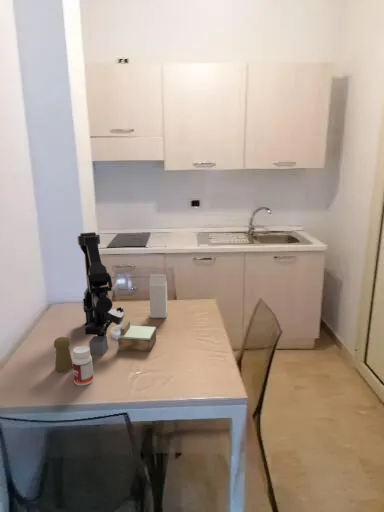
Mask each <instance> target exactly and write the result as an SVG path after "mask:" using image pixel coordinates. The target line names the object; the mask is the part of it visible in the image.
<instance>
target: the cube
mask: <svg viewBox="0 0 384 512" xmlns="http://www.w3.org/2000/svg"><path fill="white" fill-rule="evenodd" d="M92 336H93V337H92V338H91V339H90V340H89V341H88V347H89V348H90V355H97V356H103V355H105V353H106V352H107V351H108V349H109V348H108V336H107V335H106V336H97V335H92Z"/></svg>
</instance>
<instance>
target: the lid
mask: <svg viewBox="0 0 384 512" xmlns="http://www.w3.org/2000/svg"><path fill="white" fill-rule="evenodd" d="M155 329H156V330H157V327H156V326H147V325H146V326H143V325H131V321H130V320H129V321H128V320H125V322H124V323H123V324H122V326H121V327H120V329H119V330H120V331H119V334H118V336H117V339H118V338H123V339H140V340H150V338H151V337H152V335H153V333H154V331H155Z"/></svg>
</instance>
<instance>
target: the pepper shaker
mask: <svg viewBox="0 0 384 512" xmlns="http://www.w3.org/2000/svg"><path fill="white" fill-rule="evenodd" d="M70 344H71V340H70V338H68V337H66V336H60V337H59V336H58V337H57V338H56V339H54V342H53V347H54V348H55V365H54V366H55V368H54V370H55V372H57V373H68V372H70V371H73V365H72V359H73V358H72V355H71V352H70V351H71V350H70V348H69V347H70Z"/></svg>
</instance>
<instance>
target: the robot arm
mask: <svg viewBox="0 0 384 512" xmlns="http://www.w3.org/2000/svg"><path fill="white" fill-rule="evenodd" d="M79 234H80V235H78V236H77V243H78V244H77V245H79V248H80V249H81V251H82V253H83V255H84V265H85V276H86V277H85V278H86V288H85V291H84V293H83V298H82V310H83V312H84V314H85V323H84V325H85V326H86V327H85V328H84V335H89V336H107V333H108V328H109V327H110V326H111V324H115V325H118V326H119V325H121V323H122V322H123V319H124V317H125V311H124V310H125V309H124V307H123V306H120V305H119V306H118V307H117V308H113V301H112V299H111V298H110V296H109V292H112V291H113V289H112V288H113V281H112V277H111V275H110V273H109V272H108V269H107V268H106V265H104V264H103V263H102V260H101V254H100V249H99V245H100V244H101V236H100V234H97V233H96V231H93V232H80V233H79Z"/></svg>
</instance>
